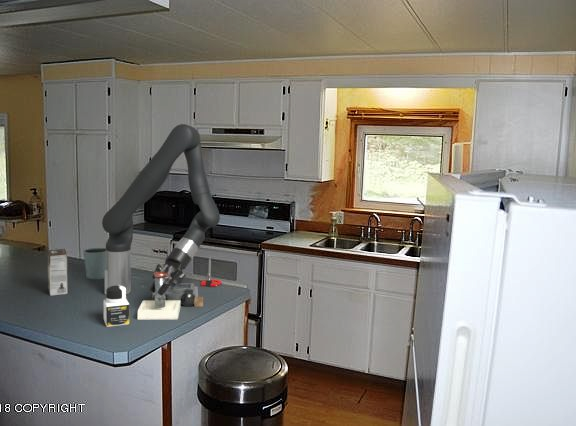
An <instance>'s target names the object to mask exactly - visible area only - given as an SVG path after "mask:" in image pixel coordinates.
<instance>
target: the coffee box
mask: <svg viewBox="0 0 576 426" xmlns="http://www.w3.org/2000/svg"><path fill="white" fill-rule="evenodd" d="M46 254H47V284H48V285H47V288H48V292H49V296H57V295H58V296H59V295H60V296H61V295H67V294H68V253H67V251H66V249H65V248H59V249H58V248H57V249H47V253H46Z"/></svg>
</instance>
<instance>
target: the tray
mask: <svg viewBox="0 0 576 426" xmlns="http://www.w3.org/2000/svg"><path fill="white" fill-rule="evenodd" d="M180 311H181V300H165V307H163V308H156V307H155V300H152V299H150V300H149V299H147V300H145V299H144V300H142V302H141V304H140V305H139V307H138V309H137V320H145V321H146V320H148V321H149V320H178V319H179V316H180Z"/></svg>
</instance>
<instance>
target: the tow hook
mask: <svg viewBox="0 0 576 426" xmlns="http://www.w3.org/2000/svg"><path fill="white" fill-rule="evenodd" d="M211 259H212V256H211V255H209V256H208V262H207V263H208V264H207V274H206V275H207V277H206V279H204V280H202V281H201V282H200V286H204V287H210V288H211V287H214V288H216V287H217V286H220V285H222V280H219V279H212V274H211V273H212V272H211V271H212V270H211V269H212V260H211Z"/></svg>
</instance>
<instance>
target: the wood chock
mask: <svg viewBox="0 0 576 426" xmlns="http://www.w3.org/2000/svg"><path fill="white" fill-rule="evenodd" d="M194 307H196V308H197V307H201V308H202V307H204V296H198V297H195V305H194Z"/></svg>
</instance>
